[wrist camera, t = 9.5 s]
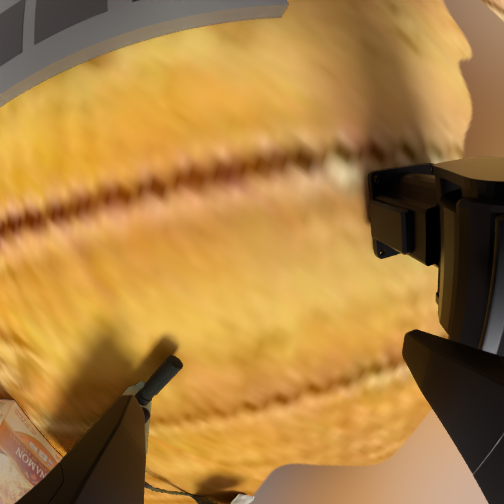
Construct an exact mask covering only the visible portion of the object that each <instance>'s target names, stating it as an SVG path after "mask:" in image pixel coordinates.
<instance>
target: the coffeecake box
mask: <svg viewBox="0 0 504 504" xmlns="http://www.w3.org/2000/svg"><path fill="white" fill-rule="evenodd" d="M62 458H63V457H62V456H61V455H60V454H59V453H58V452H57V451H56V450H55V449H54V448H53V447H52V446H51V445H50V444H49V443H48V442H47V440H46V439H45V438H44V437H43V436H42V435H41V433H40V432H39V431H38V430H37V429H36V428H35V426H34V425H33V424H32V423H31V421H30V420H29V419H28V418H27V416H26V415H25V414H24V412H23V411H22V410H21V408H20V407H19V406H18V404H17V403H16V402H15V400H6V399H3V400H0V504H14V503H15V502H17V501H18V500H19V499H20V498H21V497H22V496H24V495H25V494H26V493H27V492H28V491H30V490H31V489H32V488H33V487H34V486H35V485H36V484H38V483H39V482H40V481H41V480H42V479H43V478H44V477H45V476H46V475H47V474H48V473H49V472H50V471H51V470H52V469H53V468H54V467H55V466H56V465H57V464H58V462H60V461H61V459H62Z"/></svg>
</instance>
